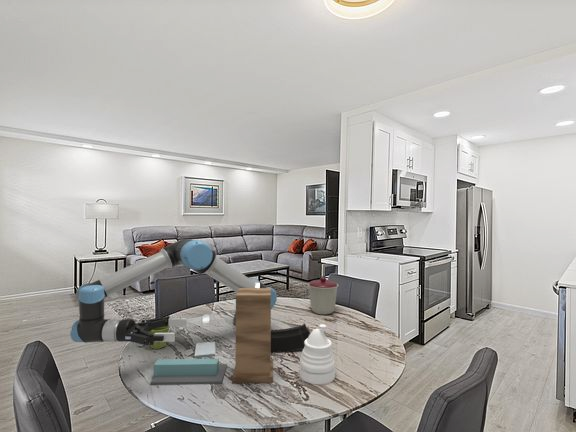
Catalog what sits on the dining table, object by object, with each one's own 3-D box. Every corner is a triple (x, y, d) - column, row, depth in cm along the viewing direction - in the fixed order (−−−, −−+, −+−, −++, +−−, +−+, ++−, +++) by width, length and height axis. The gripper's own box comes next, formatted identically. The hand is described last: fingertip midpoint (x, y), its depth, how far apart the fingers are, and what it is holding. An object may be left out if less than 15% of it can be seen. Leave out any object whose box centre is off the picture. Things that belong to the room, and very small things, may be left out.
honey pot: (336, 367, 115) (336, 320, 114) (333, 386, 102) (333, 333, 102) (303, 363, 118) (303, 317, 117) (296, 381, 105) (296, 330, 105)
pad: (163, 366, 114) (163, 364, 114) (227, 365, 116) (227, 363, 116) (150, 384, 103) (150, 382, 102) (221, 383, 104) (221, 381, 104)
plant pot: (172, 341, 138) (172, 322, 137) (167, 350, 128) (167, 329, 128) (150, 342, 136) (150, 323, 136) (144, 351, 127) (144, 331, 127)
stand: (236, 365, 116) (236, 287, 115) (273, 365, 116) (273, 287, 116) (232, 383, 104) (232, 296, 103) (272, 382, 104) (273, 295, 104)
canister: (321, 305, 192) (321, 272, 192) (344, 312, 179) (344, 276, 179) (301, 311, 180) (301, 276, 180) (324, 319, 167) (324, 281, 166)
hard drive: (215, 353, 123) (215, 341, 135) (194, 355, 121) (195, 342, 133) (215, 357, 123) (215, 344, 135) (194, 359, 121) (195, 346, 133)
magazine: (236, 333, 124) (305, 310, 128) (236, 330, 128) (303, 307, 131) (248, 372, 125) (316, 348, 129) (248, 368, 128) (314, 344, 132)
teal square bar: (158, 370, 110) (158, 359, 110) (218, 369, 111) (218, 358, 111) (153, 376, 106) (153, 364, 106) (216, 375, 107) (216, 364, 107)
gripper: (99, 334, 95) (168, 332, 96) (136, 308, 120) (190, 307, 121) (100, 357, 95) (168, 356, 96) (136, 327, 120) (190, 326, 121)
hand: (180, 329), depth 109 cm, fingers open, 13 cm apart
